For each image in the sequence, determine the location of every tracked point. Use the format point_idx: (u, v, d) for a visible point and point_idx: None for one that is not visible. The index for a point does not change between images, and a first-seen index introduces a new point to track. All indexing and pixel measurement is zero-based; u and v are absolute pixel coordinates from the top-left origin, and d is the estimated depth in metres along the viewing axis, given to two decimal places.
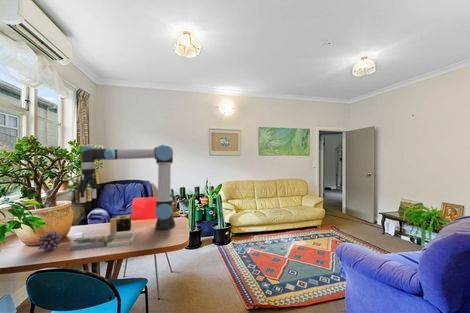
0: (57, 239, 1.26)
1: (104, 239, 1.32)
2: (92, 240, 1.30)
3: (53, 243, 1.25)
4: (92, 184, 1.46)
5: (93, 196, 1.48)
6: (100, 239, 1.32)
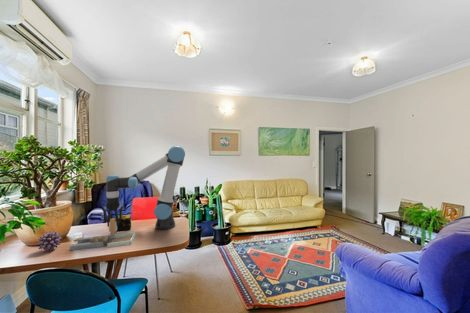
0: (57, 239, 1.26)
1: (104, 239, 1.32)
2: (92, 240, 1.30)
3: (53, 243, 1.25)
4: None
5: None
6: (100, 239, 1.32)
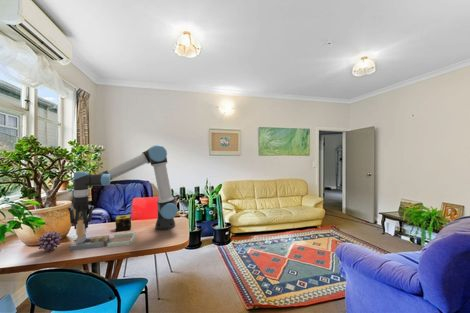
0: (57, 239, 1.26)
1: (104, 239, 1.32)
2: (92, 240, 1.30)
3: (53, 243, 1.25)
4: None
5: None
6: (100, 239, 1.32)
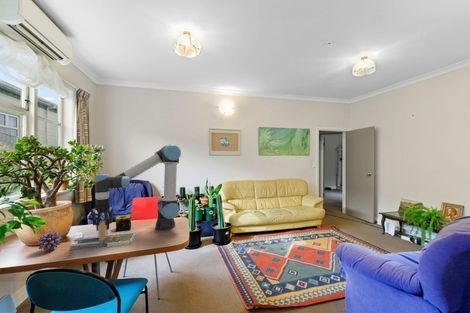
0: (57, 239, 1.26)
1: (117, 238, 1.34)
2: (106, 238, 1.33)
3: (53, 243, 1.25)
4: None
5: None
6: (113, 238, 1.33)
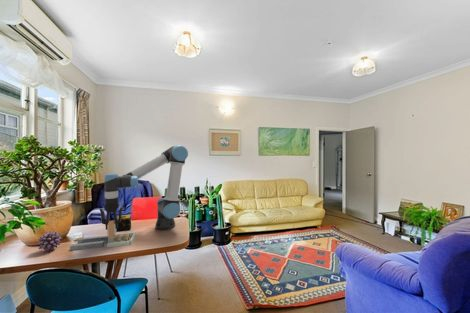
0: (57, 239, 1.26)
1: (126, 237, 1.35)
2: (115, 238, 1.34)
3: (53, 243, 1.25)
4: None
5: None
6: (122, 237, 1.35)
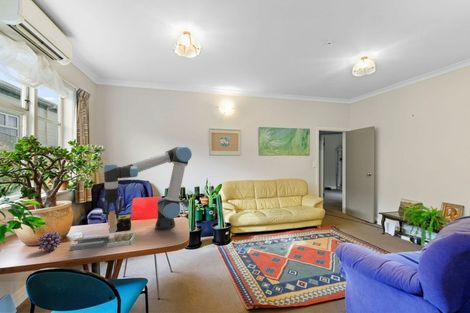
0: (57, 239, 1.26)
1: (126, 237, 1.36)
2: (116, 238, 1.34)
3: (53, 243, 1.25)
4: None
5: None
6: (122, 237, 1.35)
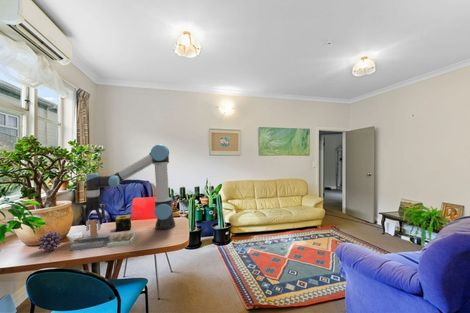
0: (57, 239, 1.26)
1: (126, 237, 1.36)
2: (116, 238, 1.34)
3: (53, 243, 1.25)
4: None
5: None
6: (122, 237, 1.35)
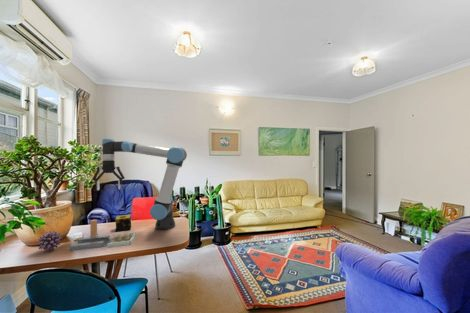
0: (57, 239, 1.26)
1: (126, 237, 1.36)
2: (116, 238, 1.34)
3: (53, 243, 1.25)
4: None
5: None
6: (122, 237, 1.35)
